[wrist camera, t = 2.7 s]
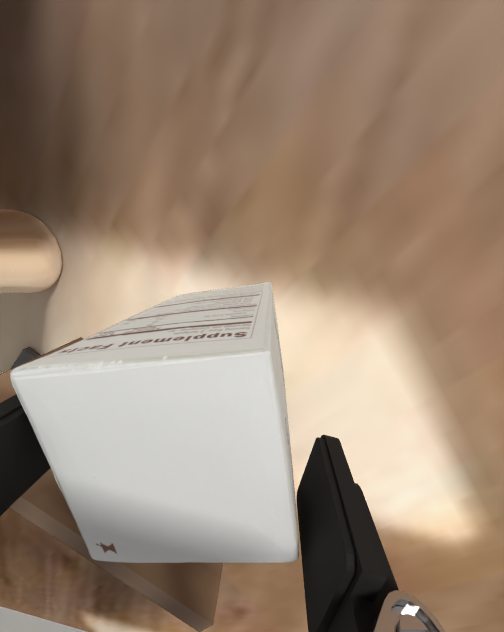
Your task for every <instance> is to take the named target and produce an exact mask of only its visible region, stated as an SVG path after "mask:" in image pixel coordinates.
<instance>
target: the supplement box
mask: <svg viewBox="0 0 504 632" xmlns="http://www.w3.org/2000/svg"><path fill="white" fill-rule="evenodd" d="M10 378H11V382H12V385H13V388H14V389H15V391H16V394H17V396H18V398H19V400H20V403H21V405H22V407H23V409H24V411H25V413H26V415H27V417H28V419H29V421H30V423H31V425H32V428H33V430H34V432H35V434H36V437H37V439H38V441H39V443H40V445H41V447H42V450H43V452H44V454H45V456H46V458H47V460H48V463H49V465H50V467H51V469H52V471H53V474H54V477H55V480H56V482H57V484H58V486H59V488H60V490H61V491H62V493H63V495H64V497H65V500H66V502H67V504H68V506H69V508H70V510H71V512H72V515H73V517H74V519H75V521H76V523H77V526H78V528H79V531H80V533H81V535H82V537H83V539H84V541H85V544H86V546H87V548H88V551H89V554H90V556H91V558H92V559H94V560H99V561H109V562H128V563H183V562H203V563H279V562H293V561H296V560H297V559H298V558H299V546H298V532H297V517H296V504H295V491H294V479H293V468H292V457H291V446H290V435H289V425H288V415H287V404H286V394H285V384H284V374H283V365H282V357H281V349H280V341H279V333H278V326H277V319H276V312H275V305H274V298H273V290H272V283H271V282H266V283H260V284H253V285H246V286H239V287H232V288H225V289H217V290H210V291H203V292H196V293H189V294H182V295H179V296H176V297H174V298H172V299H170V300H167V301H165V302H162V303H160V304H158V305H156V306H154V307H151V308H149V309H147V310H145V311H143V312H141V313H139V314H136V315H134V316H132V317H130V318H128V319H126V320H124V321H122V322H120V323H117V324H115V325H113V326H111V327H109V328H107V329H105V330H102V331H100V332H98V333H96V334H94V335H92V336H89V337H87V338H85V339H83V340H81V341H79V342H77V343H74V344H72V345H70V346H68V347H66V348H63V349H61V350H59V351H56V352H54V353H52V354H49V355H47V356H44V357H42V358H39V359H37V360H34V361H32V362H29V363H27V364H24V365H21V366H19V367H17V368H15V369H13V370H12V371H11V372H10Z"/></svg>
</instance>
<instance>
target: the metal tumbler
mask: <svg viewBox="0 0 504 632" xmlns="http://www.w3.org/2000/svg"><path fill="white" fill-rule="evenodd" d="M61 268H62V257H61V251H60V248H59V245H58V243H57V241H56V239H55V237H54V235H53V234H52V232H51V231H50V230H49V228H48V227H47V226H46V225H45V224H44V223H43V222H41V221H40V220H39V219H38V218H36V217H34V216H33V215H31V214H28V213H26V212H23V211H18V210H0V293H29V292H39V291H43V290H45V289H48V288H49V287H51V286H52V285H53V284H54V283H55V282H56V281H57V279H58V277H59V275H60V272H61Z"/></svg>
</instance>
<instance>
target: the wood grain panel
mask: <svg viewBox="0 0 504 632" xmlns="http://www.w3.org/2000/svg"><path fill="white" fill-rule="evenodd" d="M81 340H83V339H82V338H81V337H80V338H78V339H76V340H74V341H72V342H70V343H67V344H65V345H63V346H61V347H59V348H57V349H54V350H52V351H50V352H48V353H46V354H44V355H42V356H39V357H37V358H35V359H33V360H31V361H29V362H32V361H34V360H37V359H39V358H42V357H44V356H47V355H49V354H52V353H54V352H56V351H59V350H61V349H63V348H66V347H68V346H70V345H72V344H74V343H77V342H79V341H81ZM29 362H26V363H24V364H27V363H29ZM24 364H22V365H24ZM20 366H21V365H20ZM18 367H19V366H18ZM16 368H17V367H16ZM13 369H15V368H13ZM13 369H11V370H9V371H7V372H5V373H3V374H0V403H1V402H3V401H5V400H6V399H8V398H10V397H12V396H14V395H16V391H15V389H14V388H13V385H12V382H11V378H10V372H11V371H12V370H13ZM9 508H10V509H12V510H13V511H15V512H16V513H18V514H19V515H21V516H23V517H24V518H26V519H27V520H29V521H30V522H32V523H33V524H35V525H36V526H38V527H39V528H41V529H42V530H44V531H45V532H47V533H49V534H50V535H52V536H53V537H55V538H56V539H58V540H59V541H61V542H62V543H64V544H65V545H67V546H68V547H70V548H71V549H73V550H75V551H76V552H78V553H79V554H81V555H82V556H84V557H85V558H87V559H88V560H90V561H91V562H93V563H94V564H96V565H97V566H99V567H101V568H102V569H104V570H105V571H107V572H108V573H110V574H111V575H113V576H114V577H116V578H117V579H119V580H120V581H122V582H123V583H125V584H127V585H128V586H130V587H131V588H133V589H134V590H136V591H137V592H139V593H140V594H142V595H143V596H145V597H146V598H148V599H149V600H151V601H153V602H154V603H156V604H157V605H159V606H160V607H162V608H163V609H165V610H166V611H168V612H169V613H171V614H172V615H174V616H176V617H177V618H179V619H180V620H182V621H183V622H185V623H186V624H188V625H189V626H191V627H192V628H194V629H195V630H197V631H198V632H201V631H202V630H204V629H206V628H208V627H209V626H211V625H213V623H214V617H215V610H216V604H217V598H218V591H219V585H220V579H221V573H222V566H223V563H203V562H183V563H128V562H109V561H99V560H94V559H92V558H91V556H90V554H89V551H88V548H87V546H86V544H85V541H84V539H83V537H82V535H81V533H80V531H79V528H78V526H77V523H76V521H75V519H74V517H73V515H72V512H71V510H70V508H69V506H68V504H67V502H66V500H65V497H64V495H63V493H62V491H61V490H60V488H59V486H58V484H57V482H56V480H55V477H54V474H53V471H52V469H51V468H50V469H49V470H48V471H47V472H46V473H45V474H44V475H43V476H42V477H41V478H40V479H39V480H38V481H36V482H35V483H34V484H33V485H32V486H31V487H30V488H29V489H28V490H27V491H26V492H25V493H24V494H23V495H22V496H21V497H20V498H19V499H18V500H16V501H15V502H14V503H13V504H12V505H11V506H10V507H9Z"/></svg>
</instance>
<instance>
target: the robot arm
mask: <svg viewBox="0 0 504 632" xmlns="http://www.w3.org/2000/svg"><path fill="white" fill-rule="evenodd" d="M50 468H51V467H50V465H49V463H48V460H47V458H46V456H45V454H44V452H43V450H42V447H41V445H40V443H39V441H38V439H37V437H36V434H35V432H34V430H33V428H32V425H31V423H30V421H29V419H28V417H27V415H26V413H25V411H24V409H23V407H22V405H21V403H20V400H19V398H18V396H17V394H16V395H14V396H12V397H10V398H8V399H6V400H5V401H3V402H1V403H0V516H1V515H2V514H3V513H4V512H5V511H6V510H7V509H8V508H9V507H10V506H11V505H12V504H13V503H14V502H15V501H16V500H18V499H19V498H20V497H21V496H22V495H23V494H24V493H25V492H26V491H27V490H28V489H29V488H30V487H31V486H32V485H33V484H34V483H35V482H36V481H38V480H39V479H40V478H41V477H42V476H43V475H44V474H45V473H46V472H47V471H48V470H49V469H50ZM297 509H298V520H299V532H300V543H301V554H302V565H303V577H304V588H305V599H306V610H307V622H308V631H309V632H445V630H444V629H443V627H442V626H441V624H440V623H439V621H438V620H437V618H436V617H435V616H434V615H433V614H432V613H431V612H430V610H429V609H428V608H427V607H426V606H425V605H424V604H423V603H421V602H420V601H419V600H418V599H417V598H415V597H414V596H412V595H410V594H408V593H406V592H404V591H399V590H398V587H397V584H396V581H395V579H394V576H393V573H392V571H391V568H390V565H389V563H388V560H387V557H386V554H385V552H384V549H383V546H382V544H381V541H380V538H379V535H378V533H377V530H376V527H375V525H374V522H373V519H372V516H371V514H370V511H369V508H368V506H367V503H366V500H365V497H364V495H363V492H362V490H361V488H360V486H359V485H358V484H356V483H354V480H353V478H352V475H351V472H350V469H349V466H348V463H347V460H346V457H345V455H344V452H343V449H342V446H341V443H340V441H339V439H338V438H335V437H331V436H327V435H322V436H321V438H316V440H315V443H314V446H313V448H312V451H311V454H310V457H309V460H308V463H307V465H306V468H305V471H304V474H303V477H302V479H301V482H300V485H299V488H298V491H297ZM0 632H87V631H83V630H80V629H76V628H73V627H69V626H66V625H63V624H59V623H56V622H52V621H49V620H45V619H42V618H39V617H35V616H32V615H28V614H25V613H21V612H18V611H14V610H11V609H8V608H4V607H1V606H0Z"/></svg>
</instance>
